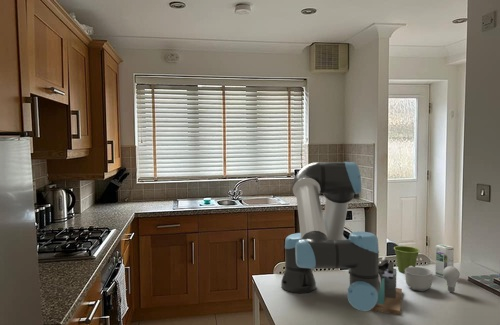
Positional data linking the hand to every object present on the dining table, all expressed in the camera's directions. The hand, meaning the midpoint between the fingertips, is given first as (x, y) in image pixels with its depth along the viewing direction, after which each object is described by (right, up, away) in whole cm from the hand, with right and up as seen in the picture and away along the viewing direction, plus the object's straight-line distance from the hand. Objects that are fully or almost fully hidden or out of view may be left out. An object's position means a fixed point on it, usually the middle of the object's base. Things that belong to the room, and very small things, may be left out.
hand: (375, 257), depth 127 cm
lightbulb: (+40, -21, +24) cm, 51 cm away
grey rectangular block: (+9, -20, +20) cm, 30 cm away
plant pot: (+33, -20, +50) cm, 64 cm away
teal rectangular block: (+6, -19, +13) cm, 23 cm away
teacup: (+29, -21, +30) cm, 47 cm away
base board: (+8, -21, +17) cm, 29 cm away
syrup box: (+48, -21, +43) cm, 68 cm away
